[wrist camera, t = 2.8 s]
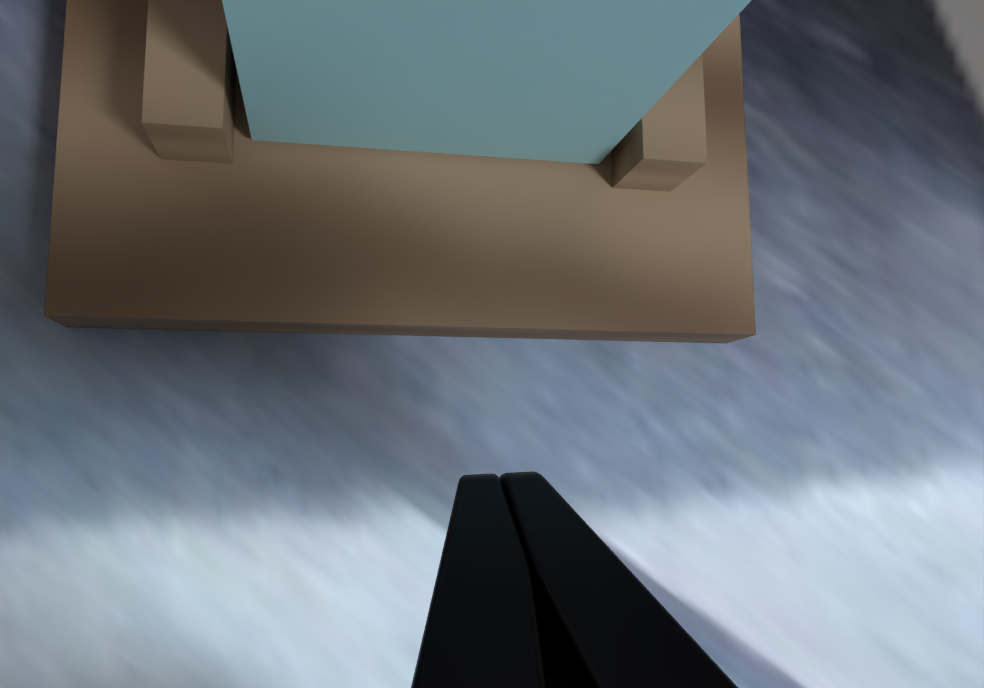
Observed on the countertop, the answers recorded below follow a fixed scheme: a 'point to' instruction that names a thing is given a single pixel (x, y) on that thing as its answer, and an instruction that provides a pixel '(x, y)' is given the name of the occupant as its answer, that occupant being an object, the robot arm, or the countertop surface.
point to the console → (379, 209)
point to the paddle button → (464, 71)
